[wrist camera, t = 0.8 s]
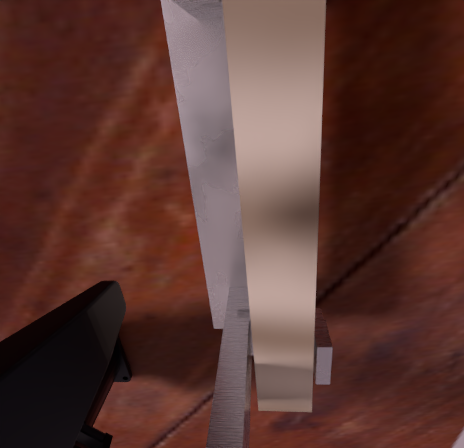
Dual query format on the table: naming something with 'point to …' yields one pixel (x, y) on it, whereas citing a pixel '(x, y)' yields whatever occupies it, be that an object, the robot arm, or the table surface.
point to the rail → (279, 183)
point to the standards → (220, 209)
